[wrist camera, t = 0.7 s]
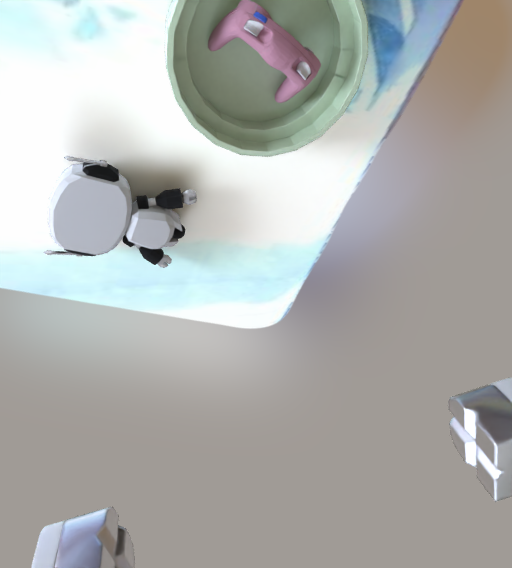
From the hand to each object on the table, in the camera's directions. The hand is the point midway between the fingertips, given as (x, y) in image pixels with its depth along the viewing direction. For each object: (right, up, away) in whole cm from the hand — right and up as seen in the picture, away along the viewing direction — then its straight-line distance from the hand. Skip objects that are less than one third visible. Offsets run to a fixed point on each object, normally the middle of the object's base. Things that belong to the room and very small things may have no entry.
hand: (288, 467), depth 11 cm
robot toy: (-16, +13, +44) cm, 49 cm away
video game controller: (0, +27, +35) cm, 44 cm away
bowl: (0, +28, +35) cm, 45 cm away
